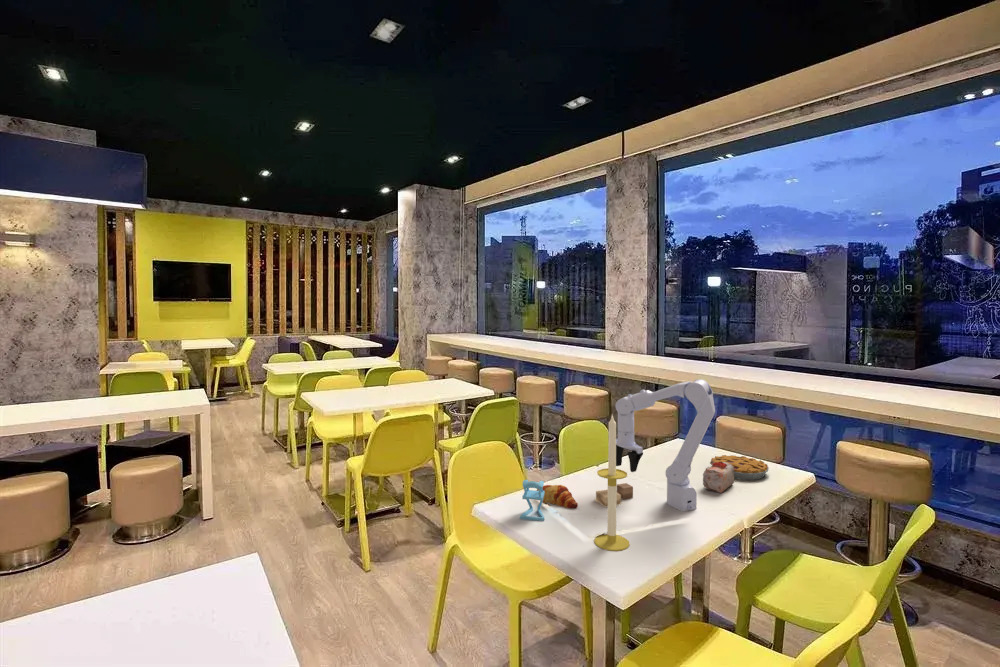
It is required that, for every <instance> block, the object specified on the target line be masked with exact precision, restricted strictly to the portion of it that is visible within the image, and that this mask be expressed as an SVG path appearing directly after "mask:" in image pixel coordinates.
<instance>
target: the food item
mask: <svg viewBox="0 0 1000 667" xmlns="http://www.w3.org/2000/svg"><path fill="white" fill-rule="evenodd" d="M712 464H713V466H712V465H711V466H710V467H709V466H707V467H706V468H705V470H704V472H703V473H702V485H703V487H704V488H705V489H706V490H710V491H711V492H716V493H718V494H723V493H724V491H726V490H727V489H728V488H730V487H731V486H732V485H733V484H734V483H735V478H734V468H733V467H734V466H732V465H731V464H729V463H726V462H716V463H715V462H714V461H712Z"/></svg>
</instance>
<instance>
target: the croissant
mask: <svg viewBox="0 0 1000 667" xmlns="http://www.w3.org/2000/svg"><path fill="white" fill-rule="evenodd" d="M536 491H539V489H536ZM543 491H545V494H544V498H543V502H542V504H545V505H548V506H549V507H550V506H551V505H550V504H552V505H556V506H558V507H563V508H567V509H577V508H578V505H579V503H578V502H576V499H575V498H574V497H573V494H572V492H570V491H569V489H568V487H567V486H565V485H562V484H555V485H552V484H545V485H543Z"/></svg>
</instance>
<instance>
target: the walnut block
mask: <svg viewBox="0 0 1000 667" xmlns="http://www.w3.org/2000/svg"><path fill="white" fill-rule="evenodd" d="M617 493H618V494H620V495H621V499H622V500H629V499H634V487H633V485H630V484H629V483H627V482H625V483H617Z"/></svg>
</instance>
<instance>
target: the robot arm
mask: <svg viewBox="0 0 1000 667" xmlns="http://www.w3.org/2000/svg"><path fill="white" fill-rule="evenodd" d="M676 396H677V397H680V398H682V399H684V398H686V399H687V400H688V401H689V402H690V403H691V404H692V405H693V406H694V408H695V410H696V412H697V413H696V415H695V417H694V420H693V422H692V424H691V426H690V428H689V429H688V433H687V434H686V436H685V438H684V441H683V442H682V445H681V447H680V449H679V451H678V454H676V456H675V458H674V459H673V462H672V463H671V464H670V465H669V466H667V467H666V469H665V477H666V504H667V506H670V507H672V508H675V509H678V510H679V511H681V512H684V511H685V512H686V511H687V512H688V511H692V510H697V501H698V500H697V497H698V496H697V490H696V489H695V488H694V487H693V486H692V485H691V483H690V482H691V481H690V479H689V475H690V473H691V471H692V467H691V466H692V462H693V459H694V457H695V455H696V452H697V450H698V448H699V446H700V444H701V443H702V440H703V439H704V436H705V434H706V432H707V430H708V428H709V426H710V424H711V421H712V419H713V417H714V416H715V414H716V406H715V402H714V391H713V389H712V388H711V386H710V384H709V383H708V381H706V380H705V379H701V378H699V379H695V380H693V381H692V380H688V381H683V382H678V383H677V384H673V385H671V386H667V387H664V388H661V389H659V390H656V391H651V390H649V389H646V390H645V389H640V391H639V392H637V393H633V394H632V393H629V394H627V396H624V397H621V398H619V399H618V400H617V401H616V402H615V409H616V411H617V438H616V467H620V466H622V462H623V452H624V450H625V449H626V450H629V451H628V452H626V453H627V456H628V461H629V470H630V473H635V472H637V470H638V465H639V463H640V460H641V458H642V456H643V455H644V452H643V451H644V450H643V448H644V447H643V446H640V445H638V443H636V441H635V412H638V411H640V410H644V409H648V408H650V407H653V406H655V404H656V402H657V401H660V400H664V399H668V398H672V397H676Z"/></svg>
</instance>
